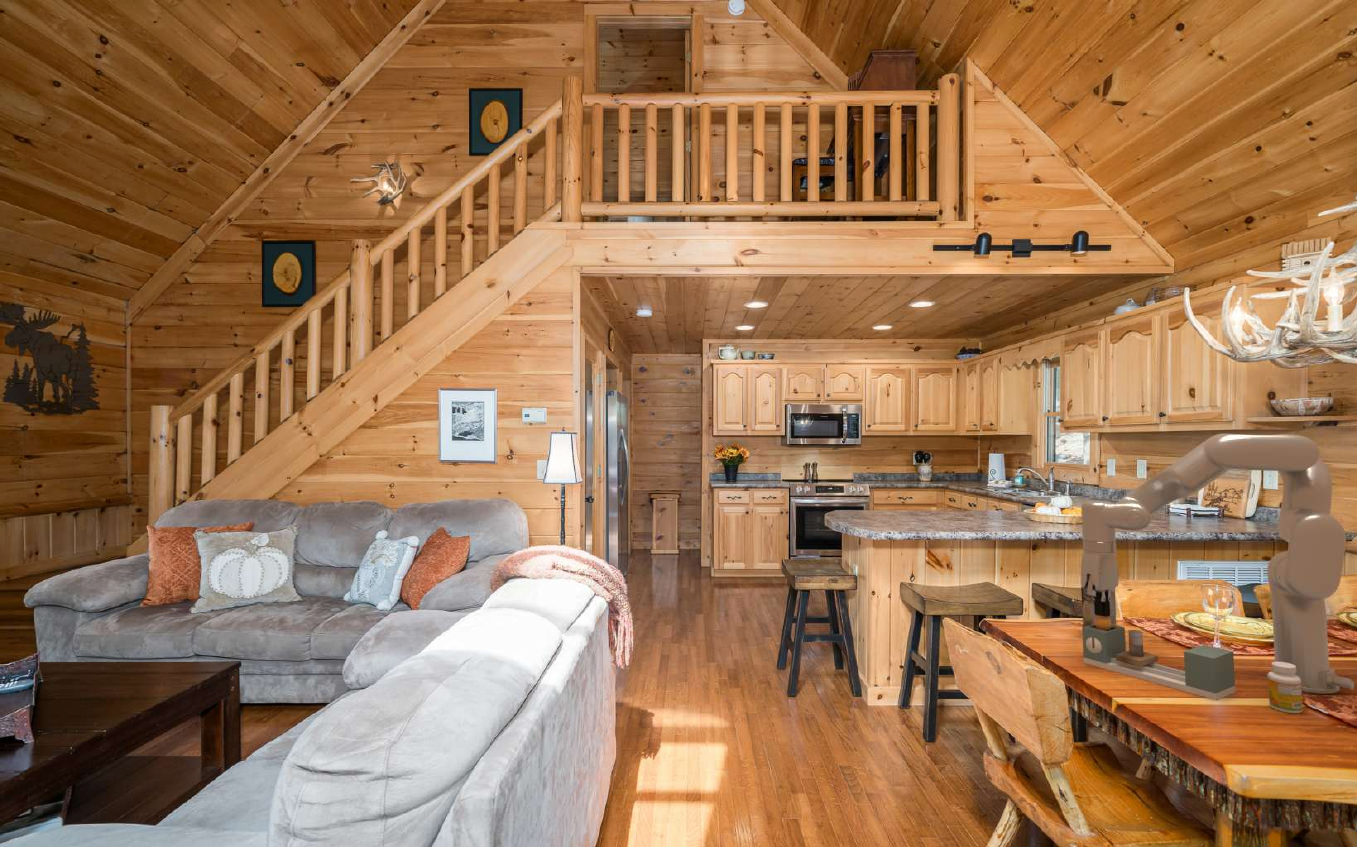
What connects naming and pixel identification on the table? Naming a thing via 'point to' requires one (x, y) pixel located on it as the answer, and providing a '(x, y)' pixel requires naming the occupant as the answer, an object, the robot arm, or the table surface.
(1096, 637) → the far cabinet
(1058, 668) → the table surface
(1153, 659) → the carriage
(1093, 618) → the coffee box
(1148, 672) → the rail track
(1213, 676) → the near cabinet
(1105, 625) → the button
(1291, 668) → the supplement bottle
